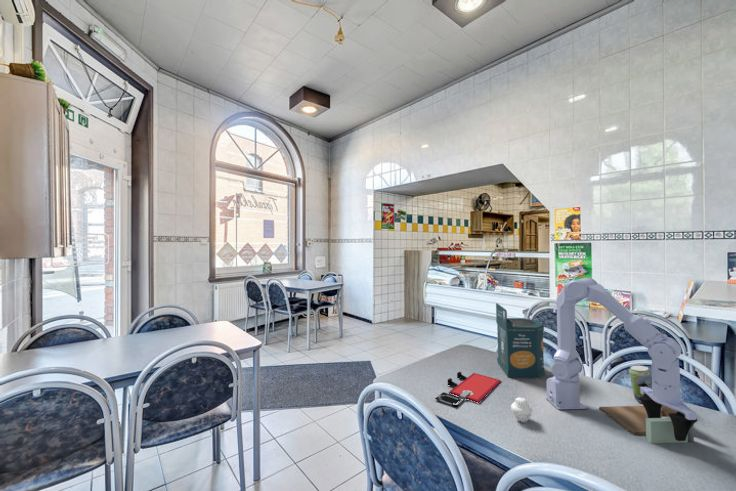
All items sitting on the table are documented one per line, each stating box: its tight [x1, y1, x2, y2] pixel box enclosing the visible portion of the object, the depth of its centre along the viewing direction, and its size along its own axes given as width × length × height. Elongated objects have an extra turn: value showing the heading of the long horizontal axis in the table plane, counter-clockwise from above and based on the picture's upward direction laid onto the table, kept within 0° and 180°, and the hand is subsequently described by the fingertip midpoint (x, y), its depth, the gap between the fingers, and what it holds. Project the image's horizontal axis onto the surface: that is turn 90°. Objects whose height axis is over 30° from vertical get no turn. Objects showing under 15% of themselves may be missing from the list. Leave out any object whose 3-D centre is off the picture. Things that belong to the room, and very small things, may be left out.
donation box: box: [495, 303, 546, 379], centre depth 138 cm, size 16×16×28 cm
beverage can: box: [628, 364, 652, 404], centre depth 109 cm, size 6×7×12 cm
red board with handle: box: [434, 371, 502, 406], centre depth 121 cm, size 30×3×15 cm
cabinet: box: [598, 405, 677, 436], centre depth 98 cm, size 16×14×7 cm
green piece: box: [645, 418, 695, 444], centre depth 88 cm, size 12×2×6 cm, turn 89°
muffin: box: [510, 397, 533, 423], centre depth 100 cm, size 6×6×7 cm
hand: (666, 431), depth 88 cm, fingers open, 7 cm apart
